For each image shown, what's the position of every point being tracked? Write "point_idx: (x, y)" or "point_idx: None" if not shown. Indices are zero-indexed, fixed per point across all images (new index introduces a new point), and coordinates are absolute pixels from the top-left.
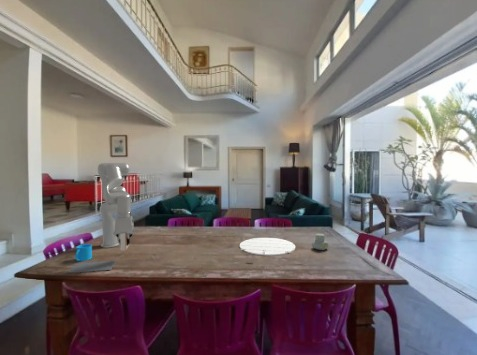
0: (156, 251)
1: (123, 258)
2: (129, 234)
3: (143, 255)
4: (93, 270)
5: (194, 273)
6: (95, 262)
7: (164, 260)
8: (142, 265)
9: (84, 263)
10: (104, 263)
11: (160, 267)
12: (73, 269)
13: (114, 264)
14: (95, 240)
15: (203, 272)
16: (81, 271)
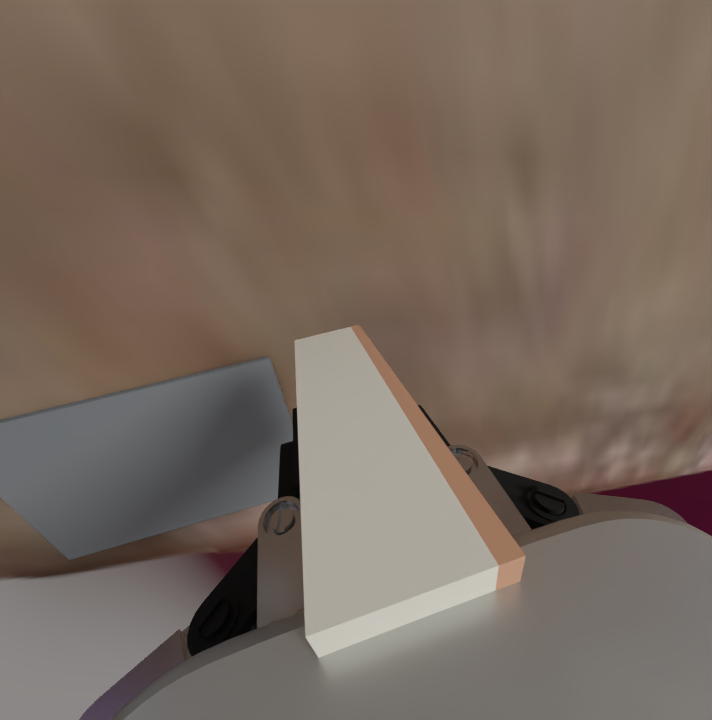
0: (539, 41)
1: (280, 281)
2: (497, 515)
3: (432, 193)
4: (222, 514)
5: (672, 450)
6: (105, 411)
7: (587, 314)
8: (467, 402)
9: (21, 439)
10: (205, 421)
11: (559, 415)
12: (64, 528)
13: (290, 418)
14: None
15: (704, 438)
16: (155, 534)
